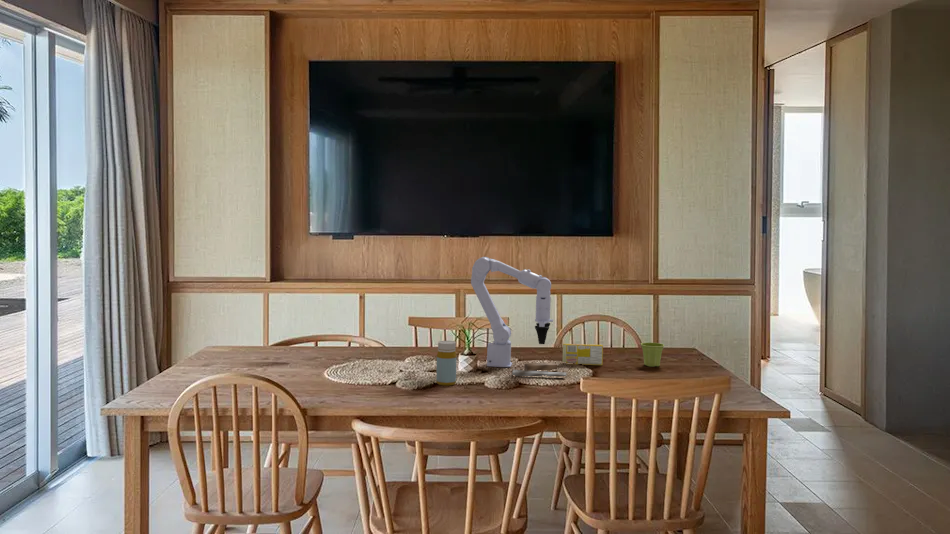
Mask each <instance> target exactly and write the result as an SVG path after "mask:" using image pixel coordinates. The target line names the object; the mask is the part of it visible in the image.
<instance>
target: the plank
mask: <svg viewBox="0 0 950 534" xmlns="http://www.w3.org/2000/svg"><path fill="white" fill-rule="evenodd" d="M552 369H557V370H558V364H557V363H555V362H532V363H531V362H530V363H529V362H527V363H524V368H523V370H527V371H537V370H552Z"/></svg>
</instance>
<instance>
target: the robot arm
mask: <svg viewBox="0 0 950 534" xmlns="http://www.w3.org/2000/svg"><path fill="white" fill-rule="evenodd" d="M493 272H500V273H503V274H506V275H508V276H510V277H513V278H516V279H517V281H518V283H519V284H522V285H523V286H526V287H528V288H529V289H533V290H534V289H536V297H535V298H536V299H535V319H534V321H535V322H536V324H535V325H534V329H535V331H536V334H537V341H538V344H539V345H545V343H546V340H547V335H548V331H549V329H550V326H551V323H552V322H553V323H554V319H551V302H552V301H551V300H552V299H551V290H552V282H551V280H550V279H549V278H547V277H546V276H543V275H541V274H539V275H538V274H537V273H534V272H532V271H531V269H522V270H519V269H517V268H515V267H513V266H511V265H510V264H509V265H508V264H507V263H504V262H502V261H501V260H497V259H493V258H490V257H488V256H482V257H479V258H478V259H476V260H475V261H474V263H473V266H472V268H471V278H470V285H471V287H472V289H473V291H474V294H475V295H476V297H477V299H478V301H479V303H480V305H481V307H482V309H483V311H484V313H485V315H486V317H487V320H488V322H489V324H490V329H491V330H492V335H493V341H492V342H488V343H487V349H486V350H487V353H486V355H487V356H486V366H487V367H496V368H497V367H498V368H511V367H512V365H513V362H511V360H512V359H511V356H512V341H511V340H510V338H511V334H512V331H511V328H510V327H509V326H508V325H507V324H506V323H505V321H504V320H503V318H502V317H501V315H500V312H499V311H498V308H497V307H496V304H495V303H494V301H493V299H492V296H491V294H490V293H489V290H488V288H487V286H486V284H485V280H486V278H487V276H488V274H489V273H493Z"/></svg>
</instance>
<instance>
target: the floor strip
mask: <svg viewBox="0 0 950 534" xmlns="http://www.w3.org/2000/svg"><path fill="white" fill-rule="evenodd" d="M512 375H515V376H542V375H544V376H545V375H547V376H566V377H567V372H565V371H557V372H548V371H527V370H524V369H512V372H511V376H512Z"/></svg>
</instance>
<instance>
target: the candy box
mask: <svg viewBox="0 0 950 534" xmlns="http://www.w3.org/2000/svg"><path fill="white" fill-rule="evenodd" d="M603 352H604V345H603V344H589V343H587V344H586V343H585V344H583V343H579V344H578V343H562V362H566V363H576V364H575V365H578V364H582V365H581V366H584V365H585V366H603V363H604V362H603V358H604V357H603V356H604V355H603V354H604V353H603Z"/></svg>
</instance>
